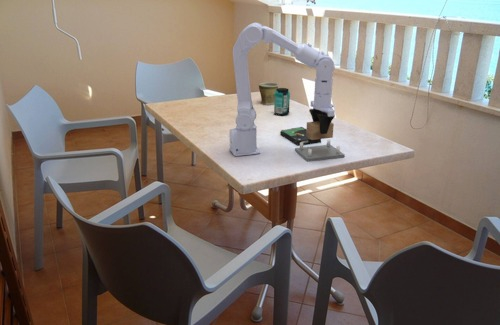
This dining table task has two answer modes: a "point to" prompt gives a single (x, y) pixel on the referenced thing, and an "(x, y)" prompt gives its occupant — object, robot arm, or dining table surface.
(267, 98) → the olive green plant pot
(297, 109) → the dining table surface
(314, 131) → the walnut block
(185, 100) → the dining table surface
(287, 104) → the beverage can
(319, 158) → the standoff plate
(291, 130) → the disk drive
